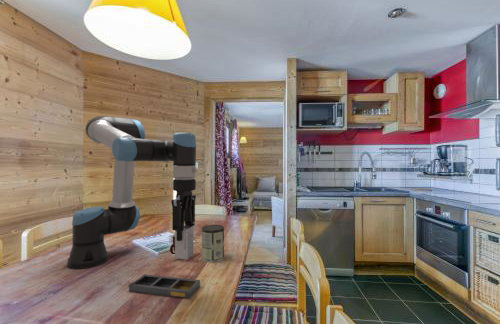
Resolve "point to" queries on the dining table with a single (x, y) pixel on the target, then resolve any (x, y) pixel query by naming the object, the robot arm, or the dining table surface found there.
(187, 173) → the robot arm
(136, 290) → the grey compartment tray
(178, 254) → the grey block with knob
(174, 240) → the mug
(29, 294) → the dining table surface
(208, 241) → the coffee can
